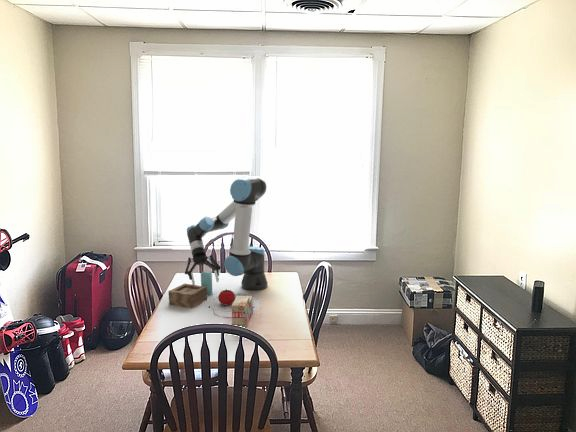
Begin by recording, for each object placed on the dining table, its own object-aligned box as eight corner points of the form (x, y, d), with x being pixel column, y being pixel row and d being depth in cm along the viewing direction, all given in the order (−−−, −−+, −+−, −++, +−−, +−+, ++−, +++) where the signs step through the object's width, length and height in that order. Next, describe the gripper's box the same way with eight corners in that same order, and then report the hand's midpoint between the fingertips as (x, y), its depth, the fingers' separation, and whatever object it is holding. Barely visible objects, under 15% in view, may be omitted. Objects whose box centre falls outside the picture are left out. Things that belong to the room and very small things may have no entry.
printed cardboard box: (240, 313, 250) (240, 289, 247) (253, 313, 249) (252, 289, 247) (232, 330, 229) (231, 304, 226) (245, 331, 228) (245, 305, 226)
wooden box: (206, 299, 268) (206, 286, 267) (191, 308, 256) (191, 294, 254) (185, 296, 274) (184, 283, 273) (169, 304, 261) (168, 291, 260)
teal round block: (214, 292, 280) (213, 271, 278) (208, 295, 275) (207, 274, 273) (205, 290, 283) (204, 270, 280) (199, 294, 277) (198, 273, 275)
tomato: (214, 304, 262) (214, 289, 260) (227, 299, 268) (227, 285, 267) (225, 308, 256) (225, 293, 254) (238, 303, 262) (238, 289, 261)
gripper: (217, 251, 296) (226, 283, 285) (175, 255, 286) (182, 289, 275) (220, 244, 290) (229, 276, 280) (177, 248, 280) (184, 282, 269)
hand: (206, 282), depth 277 cm, fingers open, 13 cm apart
